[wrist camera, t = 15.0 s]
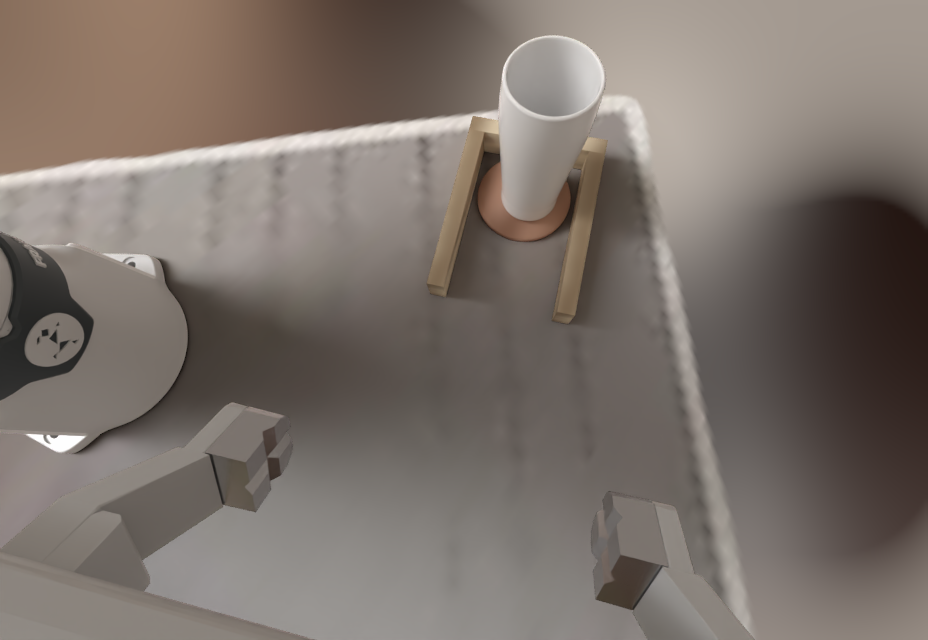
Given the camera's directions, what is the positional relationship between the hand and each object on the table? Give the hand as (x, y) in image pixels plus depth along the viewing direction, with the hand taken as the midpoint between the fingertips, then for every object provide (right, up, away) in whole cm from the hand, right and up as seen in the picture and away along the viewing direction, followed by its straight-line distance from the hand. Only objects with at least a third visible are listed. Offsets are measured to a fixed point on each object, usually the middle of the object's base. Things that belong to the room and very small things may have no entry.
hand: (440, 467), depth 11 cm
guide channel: (+6, +13, +31) cm, 34 cm away
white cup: (+7, +15, +31) cm, 35 cm away
